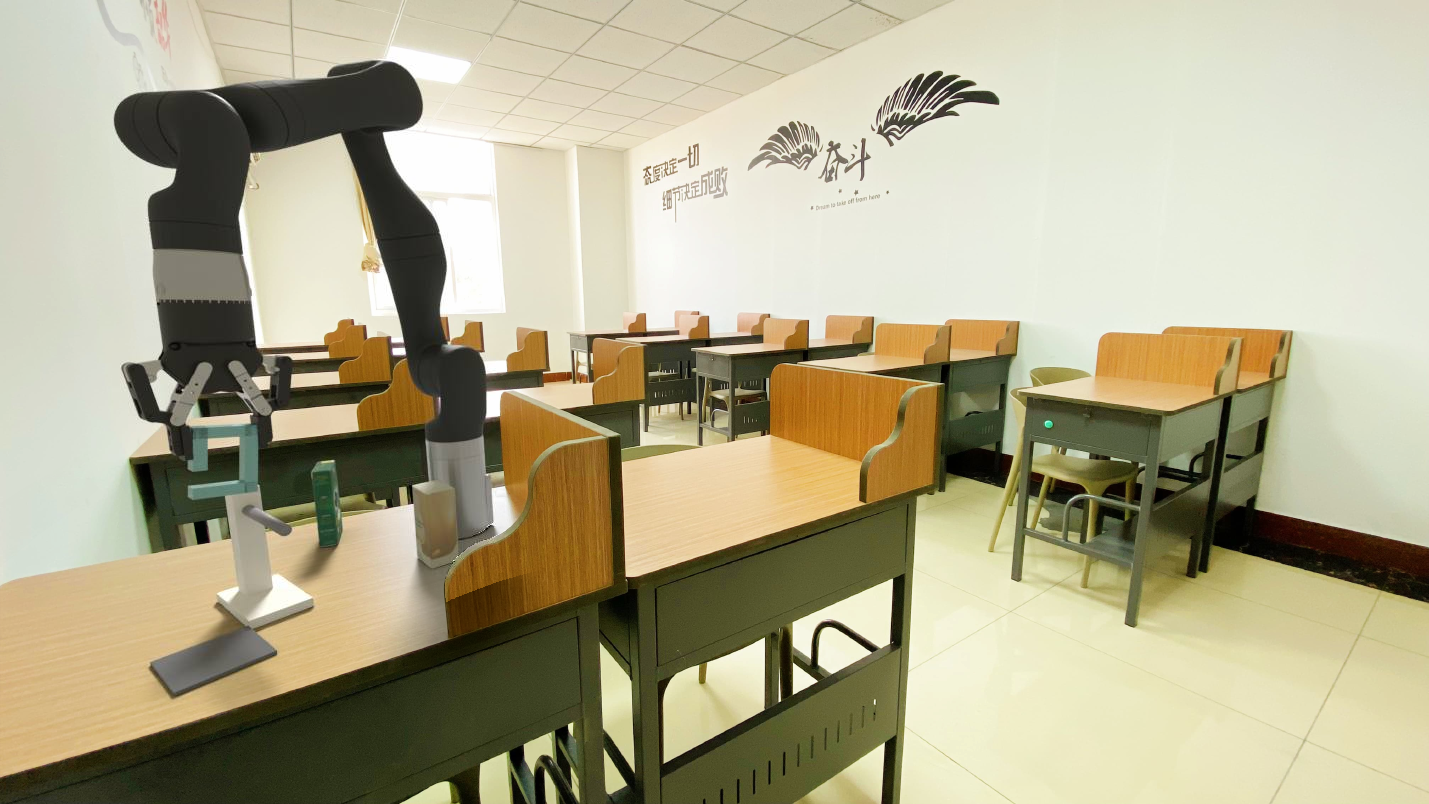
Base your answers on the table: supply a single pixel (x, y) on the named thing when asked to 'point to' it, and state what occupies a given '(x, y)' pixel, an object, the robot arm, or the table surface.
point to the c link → (246, 459)
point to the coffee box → (327, 503)
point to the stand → (257, 566)
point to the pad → (211, 659)
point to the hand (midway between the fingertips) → (224, 452)
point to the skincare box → (435, 523)
